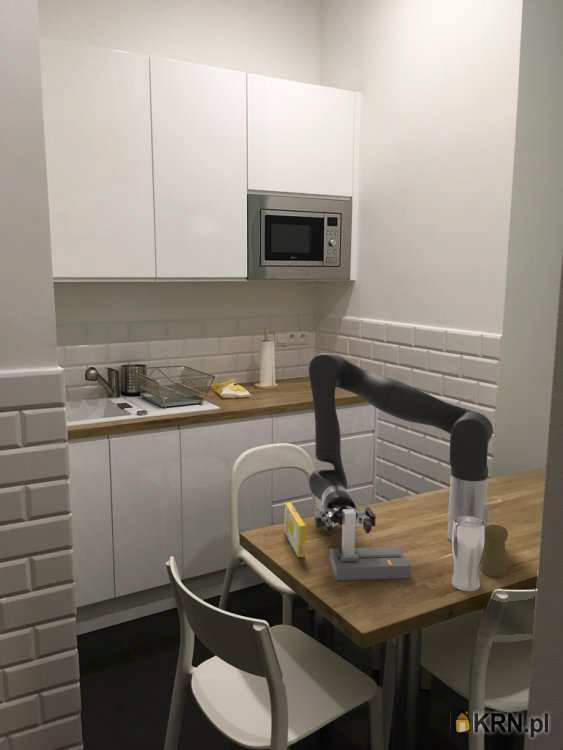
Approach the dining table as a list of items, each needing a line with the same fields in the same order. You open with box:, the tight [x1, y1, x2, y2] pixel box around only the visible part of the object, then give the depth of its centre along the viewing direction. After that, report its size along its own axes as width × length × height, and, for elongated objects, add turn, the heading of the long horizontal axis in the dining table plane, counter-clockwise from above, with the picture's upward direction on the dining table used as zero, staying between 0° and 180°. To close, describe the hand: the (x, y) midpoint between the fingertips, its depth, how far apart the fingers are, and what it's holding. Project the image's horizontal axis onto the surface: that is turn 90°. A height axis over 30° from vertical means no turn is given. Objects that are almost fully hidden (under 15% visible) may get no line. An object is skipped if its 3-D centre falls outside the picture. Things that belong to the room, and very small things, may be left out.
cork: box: [479, 524, 509, 578], centre depth 148 cm, size 6×6×11 cm
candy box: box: [283, 502, 307, 558], centre depth 163 cm, size 16×2×8 cm, turn 12°
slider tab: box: [337, 509, 359, 562], centre depth 148 cm, size 4×5×11 cm
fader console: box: [328, 546, 412, 581], centre depth 150 cm, size 17×10×3 cm, turn 95°
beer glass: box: [451, 516, 486, 593], centre depth 141 cm, size 7×7×15 cm
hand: (349, 529), depth 146 cm, fingers open, 8 cm apart
